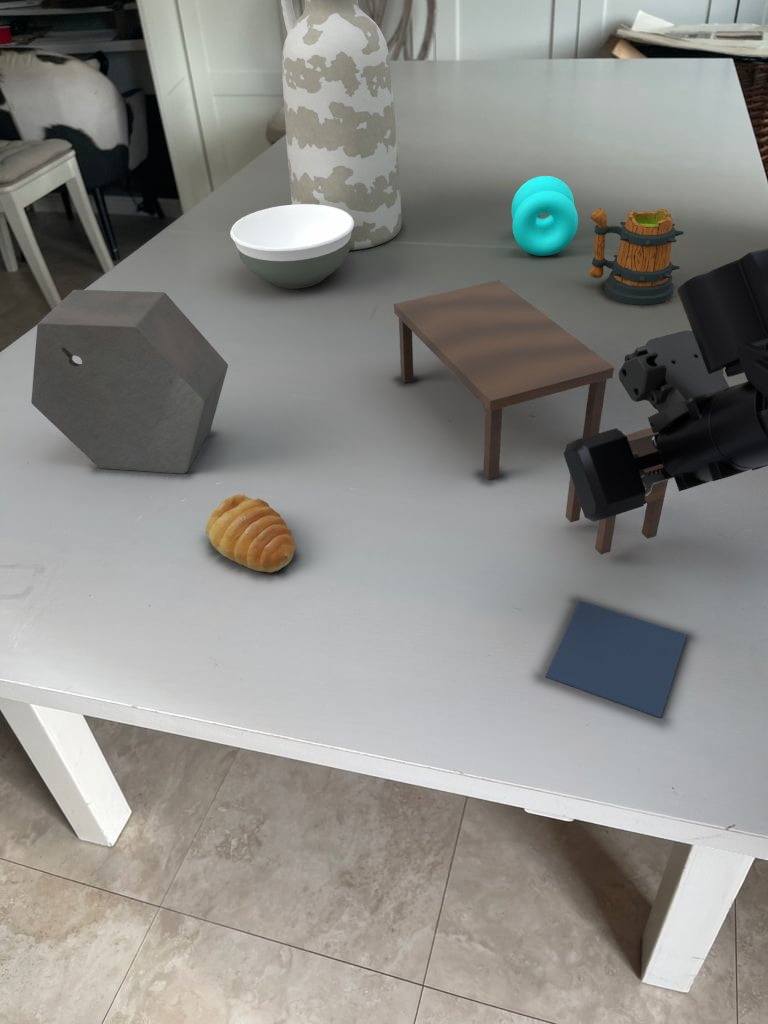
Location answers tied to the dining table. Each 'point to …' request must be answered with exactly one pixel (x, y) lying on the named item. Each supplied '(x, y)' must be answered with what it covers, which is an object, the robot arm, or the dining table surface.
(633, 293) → the mug
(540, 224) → the donuts
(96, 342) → the grey hexagonal prism
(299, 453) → the dining table surface
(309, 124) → the vase
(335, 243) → the bowl
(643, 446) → the chair
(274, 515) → the pastry
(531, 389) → the side table
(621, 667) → the mat
